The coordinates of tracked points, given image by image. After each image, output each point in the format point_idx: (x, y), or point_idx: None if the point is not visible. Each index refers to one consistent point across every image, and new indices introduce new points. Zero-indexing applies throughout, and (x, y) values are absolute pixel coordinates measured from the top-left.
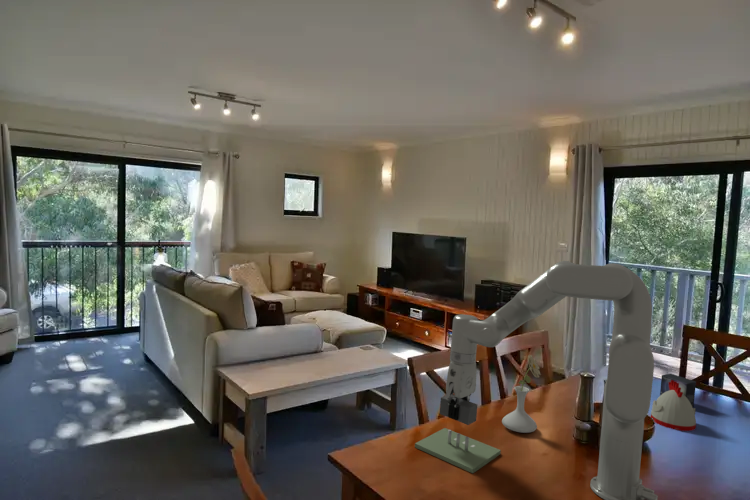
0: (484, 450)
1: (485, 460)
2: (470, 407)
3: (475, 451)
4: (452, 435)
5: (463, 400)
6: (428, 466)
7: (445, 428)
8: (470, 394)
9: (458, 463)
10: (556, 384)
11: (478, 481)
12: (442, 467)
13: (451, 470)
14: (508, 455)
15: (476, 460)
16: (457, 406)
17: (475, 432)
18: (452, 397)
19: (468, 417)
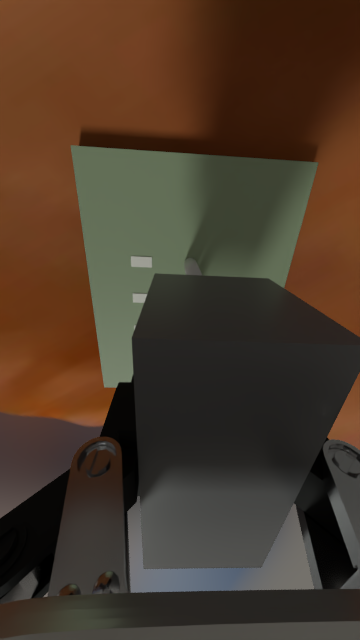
0: (136, 207)
1: (213, 156)
2: (330, 352)
3: (172, 232)
4: (128, 349)
5: (167, 481)
6: (334, 306)
7: (105, 384)
8: (6, 533)
9: (296, 236)
10: None
11: (357, 110)
12: (319, 273)
13: (324, 241)
14: (56, 109)
15: (239, 190)
16: (330, 448)
17: (20, 316)
18: (329, 582)
19: (296, 300)
